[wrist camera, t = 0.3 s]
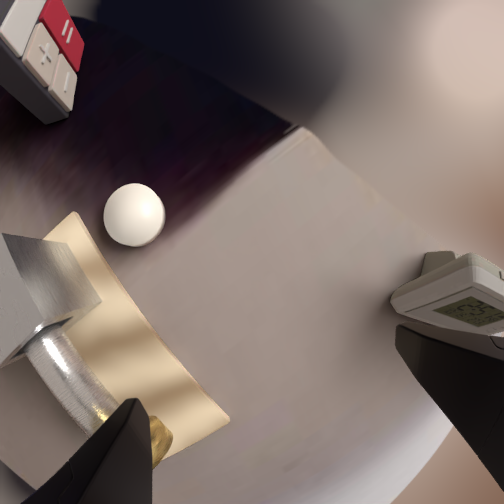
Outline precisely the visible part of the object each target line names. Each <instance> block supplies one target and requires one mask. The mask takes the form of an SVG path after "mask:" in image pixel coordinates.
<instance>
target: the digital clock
mask: <svg viewBox="0 0 504 504" xmlns="http://www.w3.org/2000/svg"><path fill="white" fill-rule="evenodd" d="M390 303H391V304H392V306H393V308H394V309H395V310H396V312H397V313H399V314H402V315H405V316H408V317H411V318H414V319H417V320H420V321H423V322H426V323H429V324H432V325H436V326H439V327H442V328H448V329H453V330H459V331H465V332H471V333H477V334H484V335H492V334H496V333H499V332H503V331H504V271H503V270H502V269H500V268H499V267H497V266H496V265H494V264H493V263H491V262H489V261H488V260H486V259H484V258H483V257H481V256H479V255H477V254H475V253H468V254H465V255H463V256H460V255H458V254H456V253H454V252H453V251H438V252H427V253H426V256H425V260H424V264H423V268H422V272H421V276H420V277H419V278H417V279H415V280H413V281H411V282H408V283H406V284H404V285H402V286H400V287H399V288H398V289H397V290H396V291H395V292H394V293H393V294H392V296H391V300H390Z"/></svg>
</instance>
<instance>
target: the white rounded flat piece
mask: <svg viewBox="0 0 504 504" xmlns="http://www.w3.org/2000/svg"><path fill="white" fill-rule="evenodd" d="M164 223H165V209H164V206H163V203H162V201H161V200H160V199H159V197H158V196H157V195H156V194H155V193H154V192H153V191H152V190H151V189H150V188H149V187H147V186H144V185H142V184H128V185H125V186H122V187H121V188H119V189H117V190H116V191H115V192H114V193H113V194H112V195H111V196H110V198H109V199H108V201H107V203H106V206H105V209H104V224H105V227H106V230H107V232H108V233H109V235H110V236H111V237H112V238H113V239H114V240H115V241H117V242H119V243H121V244H124V245H128V246H133V247H140V246H144V245H147V244H149V243H151V242H152V241H154V240H155V239H156V238H157V237H158V236H159V234H160V233H161V231H162V229H163V227H164Z"/></svg>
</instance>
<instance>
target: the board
mask: <svg viewBox="0 0 504 504" xmlns="http://www.w3.org/2000/svg"><path fill="white" fill-rule="evenodd" d="M43 240H48V241H55V242H61V243H67V244H68V246H69V247H70V249H71V251H72V253H73V254H74V256H75V258H76V260H77V261H78V263H79V265H80V266H81V268H82V270H83V271H84V273H85V275H86V276H87V278H88V279H89V281H90V283H91V284H92V286H93V287H94V289H95V290H96V292H97V293H98V295H99V297H100V298H101V300H102V302H101V303H100V304H99V305H97V306H96V307H95V308H94V309H93V310H91V311H90V312H89V313H88V314H86V315H85V316H84V317H83V318H82V319H81V320H79V321H78V322H77V323H76V324H75V325H73V326H72V327H71V328H70V329H69V330H68V331H66V332H65V333H66V335H67V336H68V338H69V339H70V341H71V342H72V344H73V345H74V347H75V348H76V350H77V351H78V352H79V354H80V355H81V357H82V358H83V359H84V361H85V362H86V363H87V365H88V366H89V367H90V369H91V370H92V371H93V373H94V374H95V375H96V376H97V378H98V379H99V380H100V381H101V383H102V384H103V385H104V386H105V388H106V389H107V390H108V391H109V392H110V394H111V395H112V396H113V397H114V398H115V400H116V401H117V402H118V403H119V404H120V405H121V404H122V403H123V402H124V401H125V400H126V399H128V398H135V397H136V398H138V399H139V400H140V401H141V403H142V405H143V407H144V408H145V410H146V412H147V414H148V416H152V415H154V416H157V417H158V419H159V420H160V421H161V422H162V423H163V424H164V425H165V426H166V427H167V428H168V429H169V430H170V431H171V432H172V433H173V441H172V444H171V447H170V449H169V450H168V452H167V454H166V455H165V457H164V458H163V459H162V460H164V459H166V458H168V457H170V456H172V455H173V454H175V453H177V452H179V451H181V450H183V449H185V448H187V447H188V446H190V445H192V444H194V443H196V442H197V441H199V440H201V439H203V438H204V437H206V436H208V435H210V434H211V433H213V432H215V431H216V430H218V429H220V428H221V427H223V426H225V425H226V424H228V423H229V422H230V420H229V416H228V415H227V414H226V413H225V412H224V411H223V410H222V409H221V408H220V407H219V406H218V405H217V404H216V403H215V402H214V401H213V400H212V398H211V397H210V396H209V395H208V394H207V393H206V392H205V391H204V390H203V388H202V387H201V386H200V385H199V384H198V383H197V382H196V381H195V379H194V378H193V377H192V376H191V375H190V374H189V372H188V371H187V370H186V369H185V368H184V367H183V365H182V364H181V363H180V362H179V361H178V359H177V358H176V357H175V356H174V354H173V353H172V352H171V351H170V350H169V348H168V347H167V346H166V345H165V343H164V342H163V341H162V339H161V338H160V337H159V336H158V334H157V333H156V332H155V330H154V329H153V328H152V326H151V325H150V324H149V322H148V321H147V320H146V318H145V317H144V316H143V314H142V313H141V312H140V310H139V309H138V307H137V306H136V305H135V303H134V302H133V300H132V299H131V298H130V296H129V295H128V293H127V292H126V290H125V289H124V287H123V286H122V284H121V283H120V282H119V280H118V279H117V277H116V275H115V274H114V272H113V271H112V269H111V268H110V266H109V265H108V263H107V262H106V260H105V258H104V257H103V255H102V254H101V252H100V250H99V249H98V247H97V245H96V244H95V242H94V241H93V239H92V237H91V235H90V234H89V232H88V230H87V229H86V227H85V225H84V223H83V222H82V220H81V218H80V216H79V215H78V213H76V212H74V211H73V212H72V213H71V214H69V215H68V216H67V217H66V218H65V219H64V220H63V221H62V222H61V223H60V224H58V225H57V226H56V227H55V228H54V229H53V230H52V231H51V232H50V233H49V234H48V235H47V236H46V237H45V238H44V239H43ZM162 460H161V461H162Z"/></svg>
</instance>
